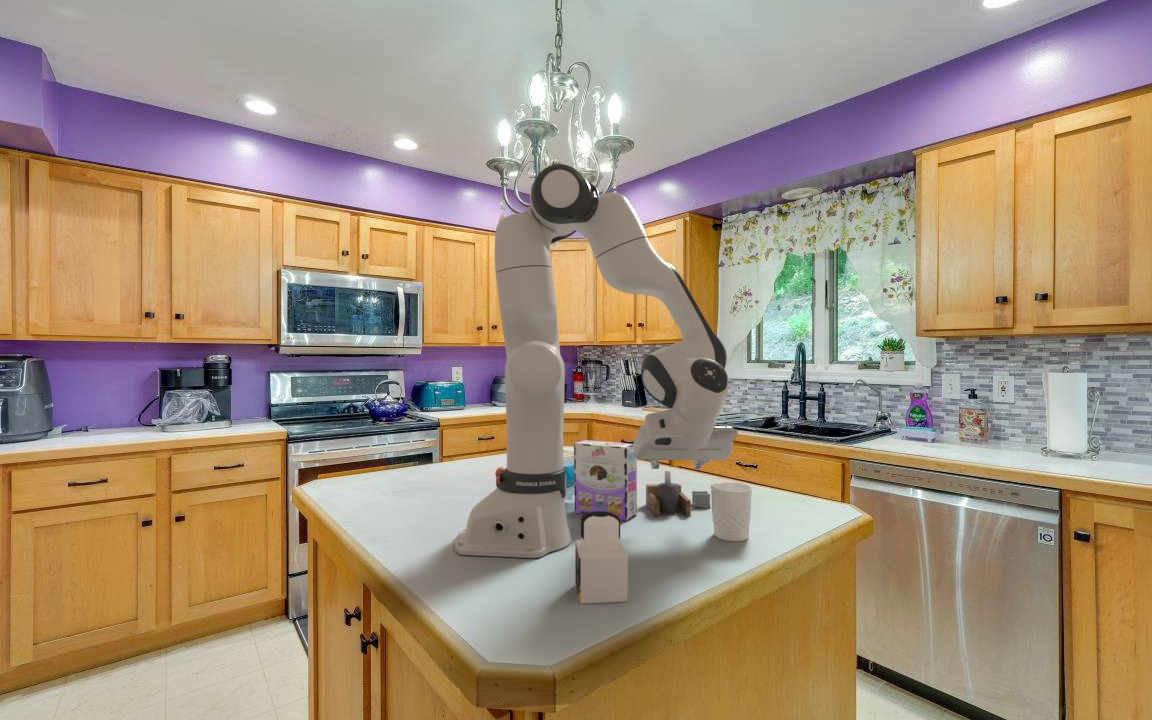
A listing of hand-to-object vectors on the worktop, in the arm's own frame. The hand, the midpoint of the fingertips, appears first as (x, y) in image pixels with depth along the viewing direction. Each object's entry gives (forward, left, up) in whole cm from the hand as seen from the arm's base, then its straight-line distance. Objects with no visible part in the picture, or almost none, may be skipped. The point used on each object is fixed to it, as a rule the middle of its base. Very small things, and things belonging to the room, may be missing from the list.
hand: (675, 466), depth 116 cm
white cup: (+9, -10, -12) cm, 18 cm away
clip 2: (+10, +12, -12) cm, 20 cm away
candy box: (-14, +7, -12) cm, 20 cm away
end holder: (+1, +8, -12) cm, 15 cm away
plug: (0, +8, -12) cm, 15 cm away
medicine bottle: (-20, -34, -12) cm, 41 cm away
